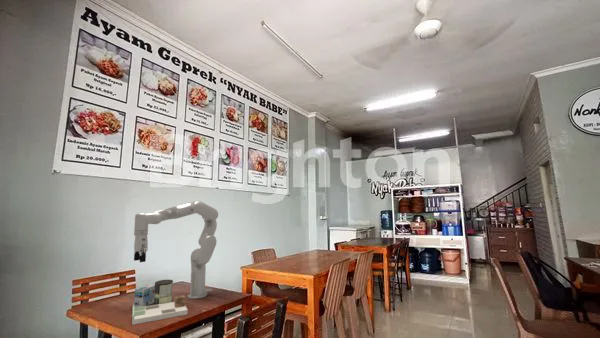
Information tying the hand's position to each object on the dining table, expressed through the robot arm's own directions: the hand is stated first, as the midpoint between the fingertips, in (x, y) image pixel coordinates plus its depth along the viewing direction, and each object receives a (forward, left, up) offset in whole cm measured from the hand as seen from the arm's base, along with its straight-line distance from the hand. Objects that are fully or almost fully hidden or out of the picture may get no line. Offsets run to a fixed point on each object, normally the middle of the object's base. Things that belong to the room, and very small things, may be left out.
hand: (139, 261), depth 174 cm
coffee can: (-14, +2, -28) cm, 31 cm away
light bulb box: (-4, -5, -28) cm, 29 cm away
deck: (-11, +18, -28) cm, 35 cm away
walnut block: (-22, +18, -25) cm, 38 cm away
